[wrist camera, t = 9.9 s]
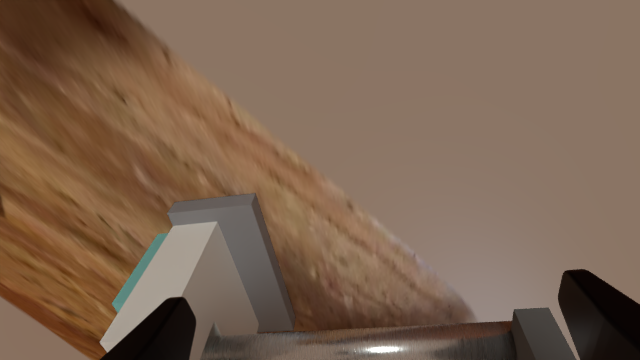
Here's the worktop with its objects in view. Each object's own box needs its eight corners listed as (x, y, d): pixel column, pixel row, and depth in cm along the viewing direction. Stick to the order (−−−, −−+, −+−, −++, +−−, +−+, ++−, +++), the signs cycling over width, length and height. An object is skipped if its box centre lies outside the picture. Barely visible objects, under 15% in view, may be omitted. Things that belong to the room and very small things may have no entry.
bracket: (230, 321, 31) (186, 454, 23) (174, 202, 25) (88, 328, 17) (295, 317, 30) (274, 455, 22) (255, 193, 24) (205, 321, 16)
